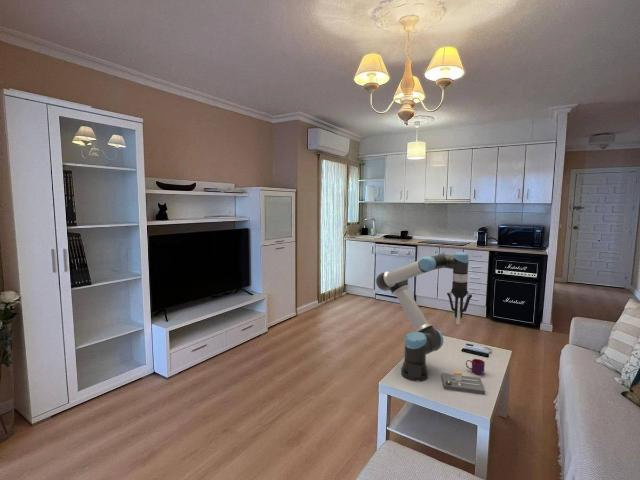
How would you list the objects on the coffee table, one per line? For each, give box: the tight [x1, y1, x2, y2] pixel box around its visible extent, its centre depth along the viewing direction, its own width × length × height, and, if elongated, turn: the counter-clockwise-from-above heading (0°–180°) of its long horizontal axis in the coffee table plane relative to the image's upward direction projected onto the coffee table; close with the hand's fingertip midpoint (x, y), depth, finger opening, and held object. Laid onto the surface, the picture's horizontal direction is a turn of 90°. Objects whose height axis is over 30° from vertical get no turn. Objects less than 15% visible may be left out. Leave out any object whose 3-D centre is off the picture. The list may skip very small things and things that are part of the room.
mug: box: [465, 358, 486, 376], centre depth 203 cm, size 7×10×7 cm
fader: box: [454, 370, 463, 382], centre depth 188 cm, size 3×3×5 cm
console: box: [441, 372, 486, 395], centre depth 188 cm, size 20×14×3 cm
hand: (458, 323), depth 190 cm, fingers closed
